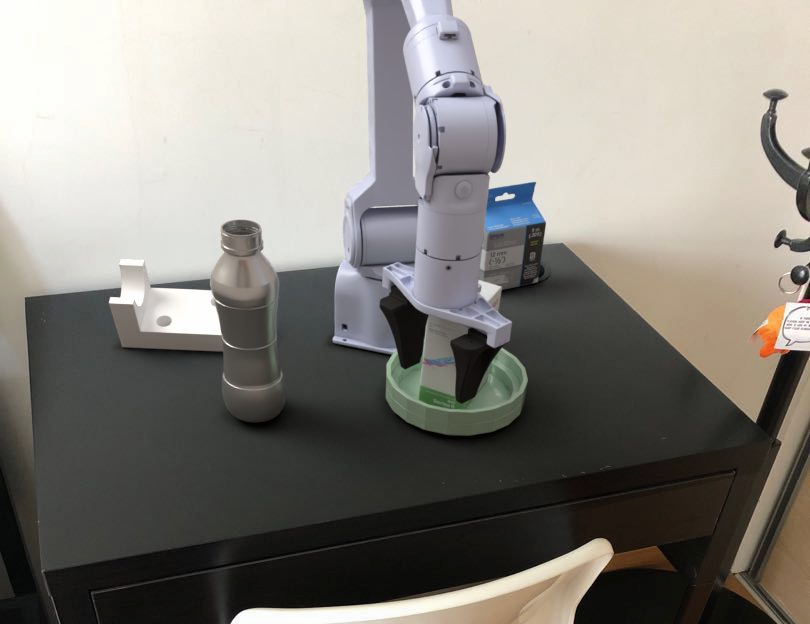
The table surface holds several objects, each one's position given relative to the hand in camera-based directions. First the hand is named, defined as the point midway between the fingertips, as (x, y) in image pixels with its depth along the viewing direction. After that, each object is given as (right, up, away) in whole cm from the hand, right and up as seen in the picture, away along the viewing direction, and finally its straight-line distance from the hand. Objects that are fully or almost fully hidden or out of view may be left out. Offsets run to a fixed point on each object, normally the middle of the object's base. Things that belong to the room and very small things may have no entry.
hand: (437, 381), depth 87 cm
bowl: (+2, 0, +12) cm, 12 cm away
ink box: (+2, 0, +11) cm, 12 cm away
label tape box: (+10, +19, +33) cm, 39 cm away
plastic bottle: (-19, -2, +8) cm, 21 cm away
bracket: (-29, +8, +18) cm, 35 cm away
